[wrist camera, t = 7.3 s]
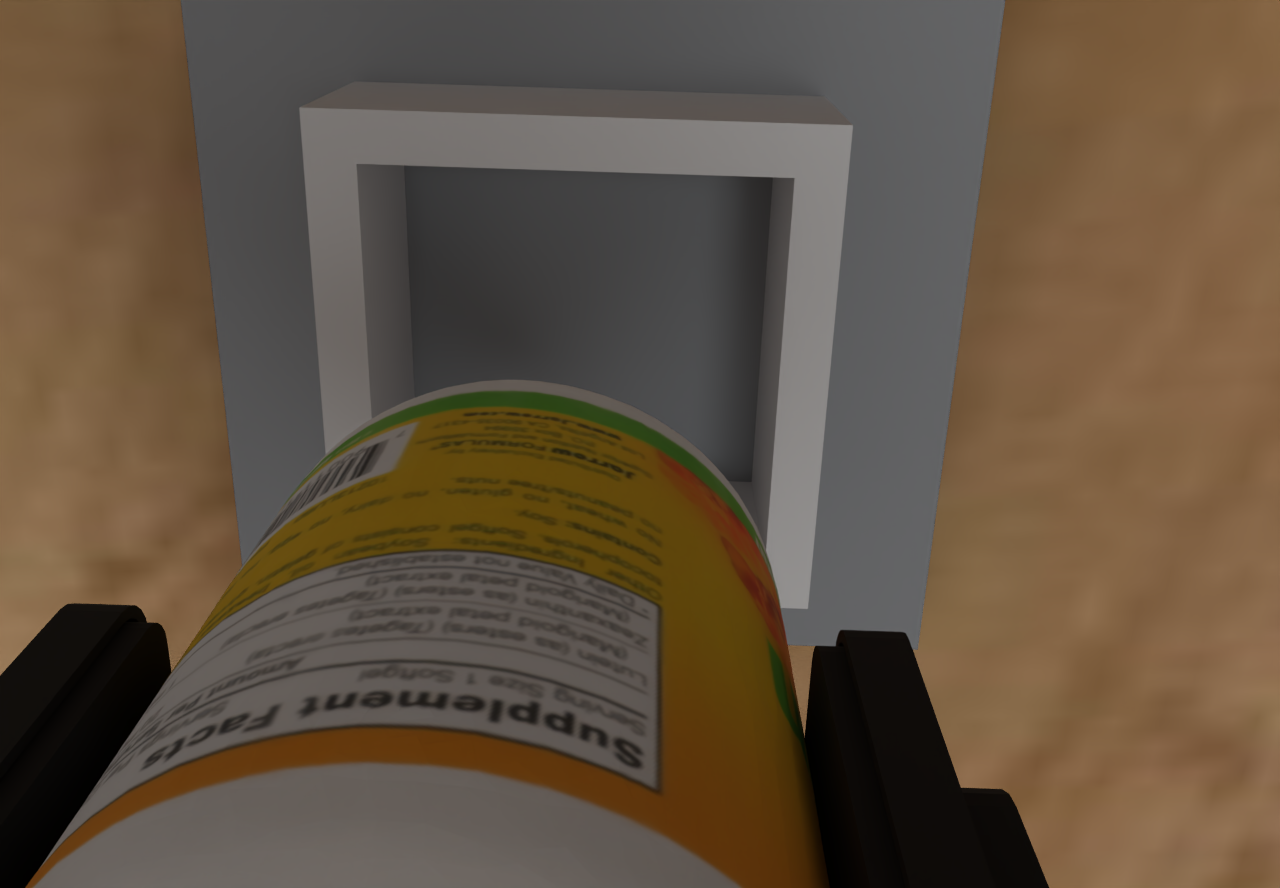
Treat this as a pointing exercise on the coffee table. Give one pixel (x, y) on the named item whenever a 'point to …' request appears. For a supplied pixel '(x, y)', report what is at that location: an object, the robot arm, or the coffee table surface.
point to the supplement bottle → (477, 676)
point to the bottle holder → (611, 242)
